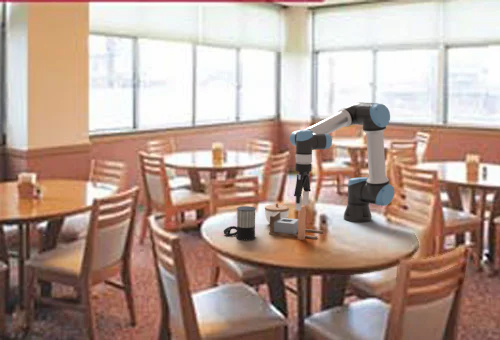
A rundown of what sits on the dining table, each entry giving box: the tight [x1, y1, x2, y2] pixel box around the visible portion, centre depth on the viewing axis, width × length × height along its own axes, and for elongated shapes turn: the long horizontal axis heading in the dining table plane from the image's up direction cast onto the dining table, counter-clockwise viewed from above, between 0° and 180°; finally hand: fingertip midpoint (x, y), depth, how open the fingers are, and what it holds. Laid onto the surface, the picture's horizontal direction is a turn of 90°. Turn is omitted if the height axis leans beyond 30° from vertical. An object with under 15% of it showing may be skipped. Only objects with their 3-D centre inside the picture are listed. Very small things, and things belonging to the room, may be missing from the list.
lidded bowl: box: [264, 202, 290, 224], centre depth 320 cm, size 13×13×11 cm
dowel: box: [297, 205, 307, 241], centre depth 290 cm, size 4×4×16 cm
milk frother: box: [223, 205, 256, 241], centre depth 293 cm, size 14×16×15 cm
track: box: [268, 212, 324, 240], centre depth 301 cm, size 24×13×9 cm, turn 71°
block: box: [274, 218, 298, 234], centre depth 303 cm, size 10×10×6 cm
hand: (301, 207), depth 289 cm, fingers open, 13 cm apart
